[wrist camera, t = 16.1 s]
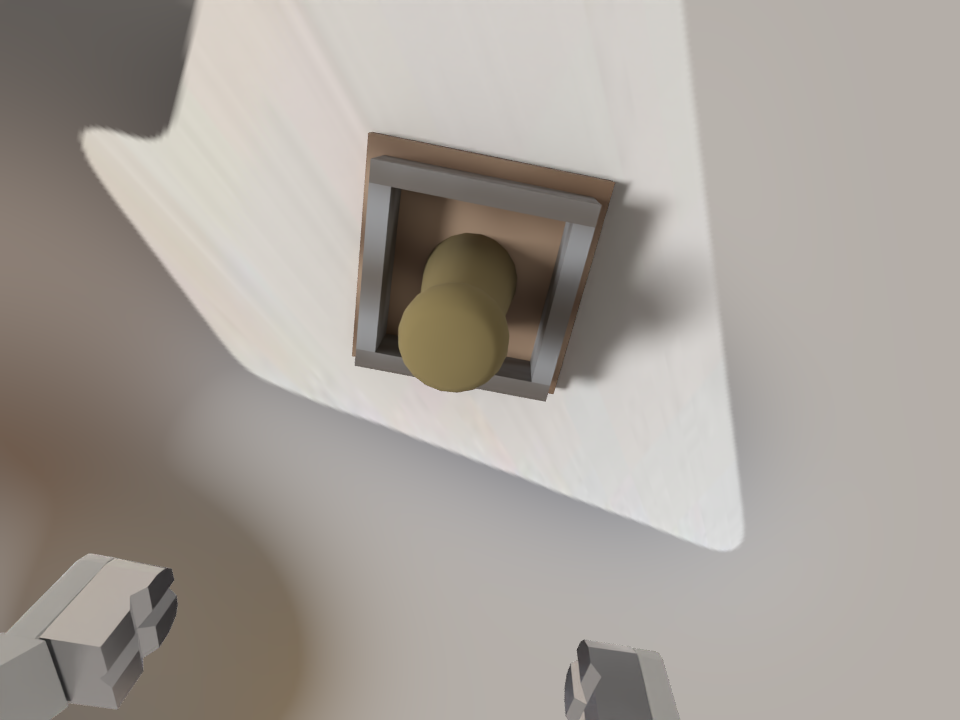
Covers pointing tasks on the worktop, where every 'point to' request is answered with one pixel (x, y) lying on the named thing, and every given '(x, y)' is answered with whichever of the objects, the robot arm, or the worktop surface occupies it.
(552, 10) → the worktop surface
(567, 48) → the worktop surface
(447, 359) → the cork
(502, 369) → the grey-rimmed square tray
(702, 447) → the worktop surface
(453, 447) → the worktop surface
